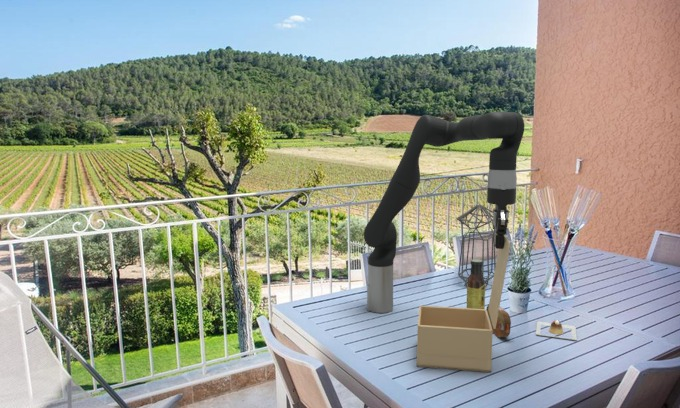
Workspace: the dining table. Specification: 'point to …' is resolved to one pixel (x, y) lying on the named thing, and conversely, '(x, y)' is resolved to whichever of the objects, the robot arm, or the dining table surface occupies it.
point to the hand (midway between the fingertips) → (499, 248)
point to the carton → (454, 338)
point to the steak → (501, 323)
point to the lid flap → (498, 281)
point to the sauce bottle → (476, 286)
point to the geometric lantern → (477, 239)
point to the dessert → (556, 329)
